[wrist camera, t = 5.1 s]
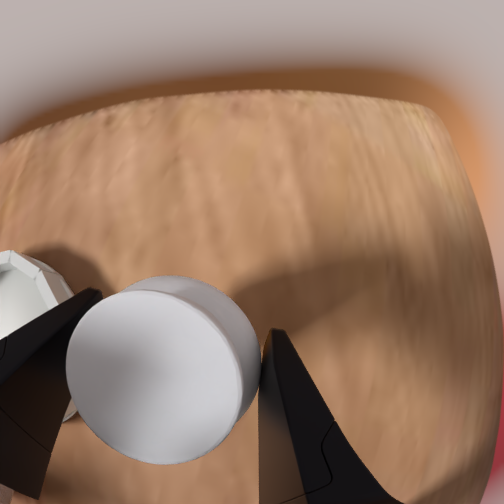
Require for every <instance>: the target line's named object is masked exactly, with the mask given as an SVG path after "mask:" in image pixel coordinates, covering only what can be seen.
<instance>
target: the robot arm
mask: <svg viewBox="0 0 504 504" xmlns="http://www.w3.org/2000/svg"><path fill="white" fill-rule="evenodd" d="M101 300H103V295H102V292H101V290H99V289H96V288H92V287H89V288H87V289H85V290H83V291H81V292H80V293H78V294H76V295H74V296H73V297H71V298H69V299H67V300H66V301H64V302H62V303H60V304H59V305H57V306H55V307H53V308H52V309H50V310H48V311H47V312H45V313H43V314H42V315H40V316H38V317H36V318H35V319H33V320H31V321H30V322H28V323H27V324H25V325H23V326H22V327H20V328H18V329H17V330H15V331H13V332H12V333H10V334H9V335H8V336H5V337H4V338H2V339H1V340H0V504H10V503H11V500H12V496H13V493H14V490H15V491H17V492H19V493H22V494H24V495H26V496H29V497H31V498H34V499H37V500H39V497H40V493H41V489H42V485H43V482H44V478H45V474H46V471H47V467H48V464H49V461H50V457H51V453H52V451H53V447H54V444H55V441H56V438H57V436H58V433H59V430H60V427H61V424H62V422H63V419H64V416H65V413H66V411H67V408H68V406H69V403H70V401H71V398H72V397H71V394H70V391H69V387H68V383H67V376H66V356H67V350H68V346H69V342H70V339H71V336H72V334H73V332H74V330H75V328H76V326H77V325H78V323H79V321H80V320H81V319H82V317H83V316H84V315H85V314H86V313H87V312H88V311H89V310H90V309H91V308H92V307H93V306H94V305H96V304H97V303H99V302H100V301H101ZM334 420H335V419H334V417H333V415H332V414H331V412H330V410H329V408H328V406H327V405H326V403H325V401H324V399H323V398H322V396H321V394H320V392H319V391H318V389H317V387H316V385H315V384H314V382H313V380H312V378H311V376H310V375H309V373H308V371H307V369H306V368H305V366H304V364H303V362H302V360H301V359H300V357H299V355H298V353H297V351H296V350H295V348H294V346H293V344H292V343H291V341H290V339H289V337H288V335H287V334H286V332H285V331H284V330H283V329H276V328H271V329H270V331H269V334H268V337H267V340H266V342H265V345H264V350H263V358H262V369H261V378H260V383H259V392H258V431H259V504H404V503H402V502H400V501H398V500H396V499H395V498H393V497H392V496H391V495H389V494H388V493H387V492H386V491H385V490H384V489H383V488H382V486H381V485H380V484H379V483H378V481H377V480H376V479H375V478H374V476H373V475H372V474H371V472H370V471H369V470H368V469H367V467H366V466H365V465H364V463H363V462H362V461H361V459H360V458H359V457H358V455H357V454H356V453H355V451H354V450H353V448H352V447H351V445H350V444H349V442H348V441H347V439H346V437H345V436H344V434H343V433H342V431H341V429H340V427H339V426H338V424H337V422H336V421H334Z"/></svg>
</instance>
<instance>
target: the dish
mask: <svg viewBox="0 0 504 504" xmlns="http://www.w3.org/2000/svg"><path fill="white" fill-rule="evenodd" d="M73 296H74V293H73V291H72V290H71V288H70V287H69V285H68V284H67V282H66V281H65V280H64V278H63V276H61V274H59V273H58V272H56V271H55V270H54V269H53V268H52V267H50V266H49V265H47V264H45V263H43V262H41V261H39V260H36V259H34V258H32V257H29V256H26V255H24V254H21V253H18V252H16V251H13V250H8V251H4V252H0V340H1V339H2V338H4V337H5V336H8V335H9V334H10V333H12V332H13V331H15V330H17V329H18V328H20V327H22V326H23V325H25V324H27V323H28V322H30V321H31V320H33V319H35V318H36V317H38V316H40V315H42V314H43V313H45V312H47V311H48V310H50V309H52V308H53V307H55V306H57V305H59V304H60V303H62V302H64V301H66V300H67V299H69V298H71V297H73ZM77 411H78V410H77V408H76V406H75V404H74V402H73V400H72V398H71V401H70V403H69V406H68V408H67V411H66V413H65V416H64V419H63V422H64V421H66V420H67V419H69V418H71V417H72V416H73V415H74V414H75V413H76V412H77Z"/></svg>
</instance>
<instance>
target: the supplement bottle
mask: <svg viewBox="0 0 504 504" xmlns="http://www.w3.org/2000/svg"><path fill="white" fill-rule="evenodd" d="M261 369H262V363H261V351H260V346H259V342H258V339H257V336H256V333H255V331H254V329H253V327H252V325H251V323H250V321H249V320H248V318H247V317H246V315H245V314H244V313H243V311H242V310H241V309H240V308H239V307H238V305H237V304H236V303H235V302H234V301H233V300H232V299H230V298H229V297H228V296H227V295H226V294H224V293H223V292H221V291H220V290H218V289H217V288H215V287H213V286H211V285H209V284H207V283H205V282H203V281H200V280H197V279H193V278H189V277H183V276H157V277H151V278H147V279H144V280H141V281H138V282H136V283H134V284H132V285H130V286H128V287H127V288H125V289H124V290H122V291H121V292H120V293H117V294H114V295H111V296H109V297H107V298H105V299H103V300H101V301H100V302H99V303H97V304H96V305H94V306H93V307H92V308H91V309H90V310H89V311H88V312H87V313H86V314H85V315H84V316H83V317H82V319H81V320H80V321H79V323H78V325H77V326H76V328H75V330H74V332H73V334H72V336H71V339H70V342H69V346H68V350H67V356H66V376H67V383H68V387H69V391H70V394H71V397H72V400H73V402H74V404H75V406H76V408H77V410H78V412H79V414H80V416H81V417H82V419H83V420H84V422H85V423H86V424H87V426H88V427H89V428H90V429H91V430H92V431H93V432H94V433H95V434H96V436H97V437H99V438H100V439H101V440H102V441H103V442H105V443H106V444H107V445H109V446H110V447H111V448H113V449H115V450H116V451H118V452H120V453H121V454H123V455H126V456H128V457H130V458H133V459H136V460H139V461H142V462H146V463H152V464H162V465H167V464H179V463H184V462H188V461H191V460H194V459H197V458H199V457H202V456H204V455H205V454H207V453H209V452H210V451H212V450H213V449H215V448H216V447H217V446H218V445H220V444H221V443H222V442H223V441H224V440H225V438H226V437H227V436H228V435H229V433H230V432H231V430H232V428H233V427H234V425H235V423H236V422H237V421H238V420H239V419H240V418H241V417H242V416H243V415H244V414H245V412H246V411H247V410H248V408H249V407H250V405H251V403H252V401H253V400H254V398H255V395H256V392H257V390H258V387H259V383H260V378H261Z"/></svg>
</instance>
